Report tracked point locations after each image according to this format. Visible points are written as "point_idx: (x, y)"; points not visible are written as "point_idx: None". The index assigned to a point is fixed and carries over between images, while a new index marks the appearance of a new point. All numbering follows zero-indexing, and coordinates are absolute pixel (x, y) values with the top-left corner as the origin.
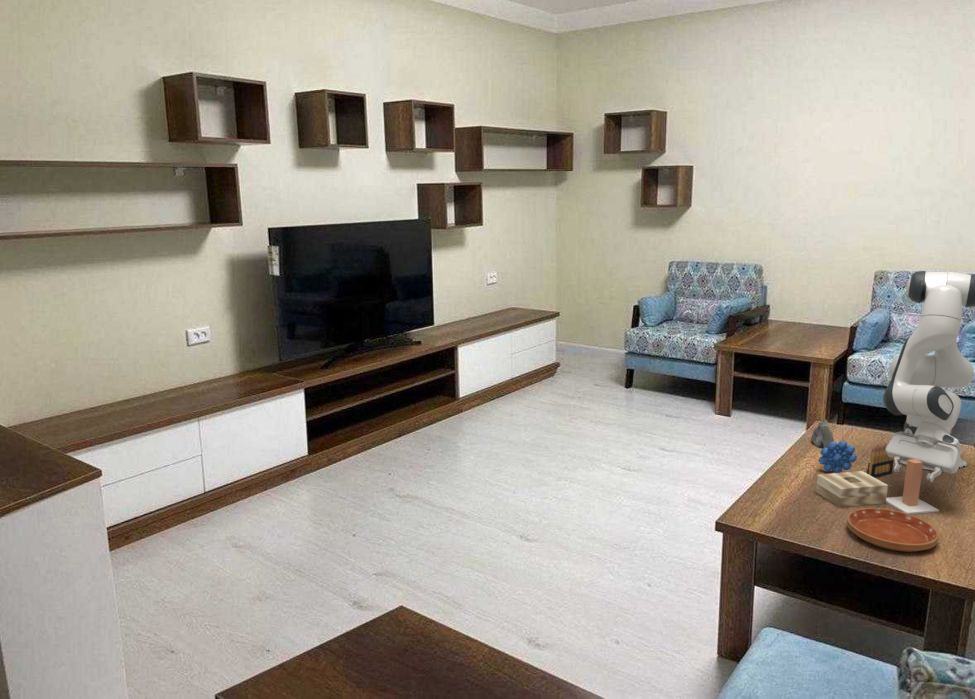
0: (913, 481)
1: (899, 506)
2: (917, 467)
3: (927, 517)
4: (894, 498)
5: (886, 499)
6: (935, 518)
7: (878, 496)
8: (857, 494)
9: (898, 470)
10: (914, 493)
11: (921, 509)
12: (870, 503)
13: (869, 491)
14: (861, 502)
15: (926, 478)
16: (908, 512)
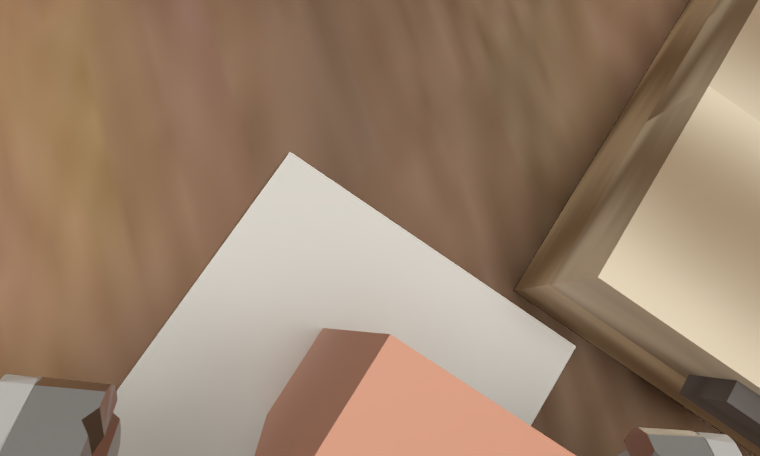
0: (329, 347)
1: (388, 256)
2: (311, 422)
3: (126, 226)
4: None
5: (534, 343)
6: (59, 255)
7: (589, 206)
8: (726, 1)
9: (638, 427)
10: (299, 377)
11: (208, 336)
12: (597, 157)
13: (678, 98)
14: (650, 79)
15: (112, 388)
16: (281, 169)
